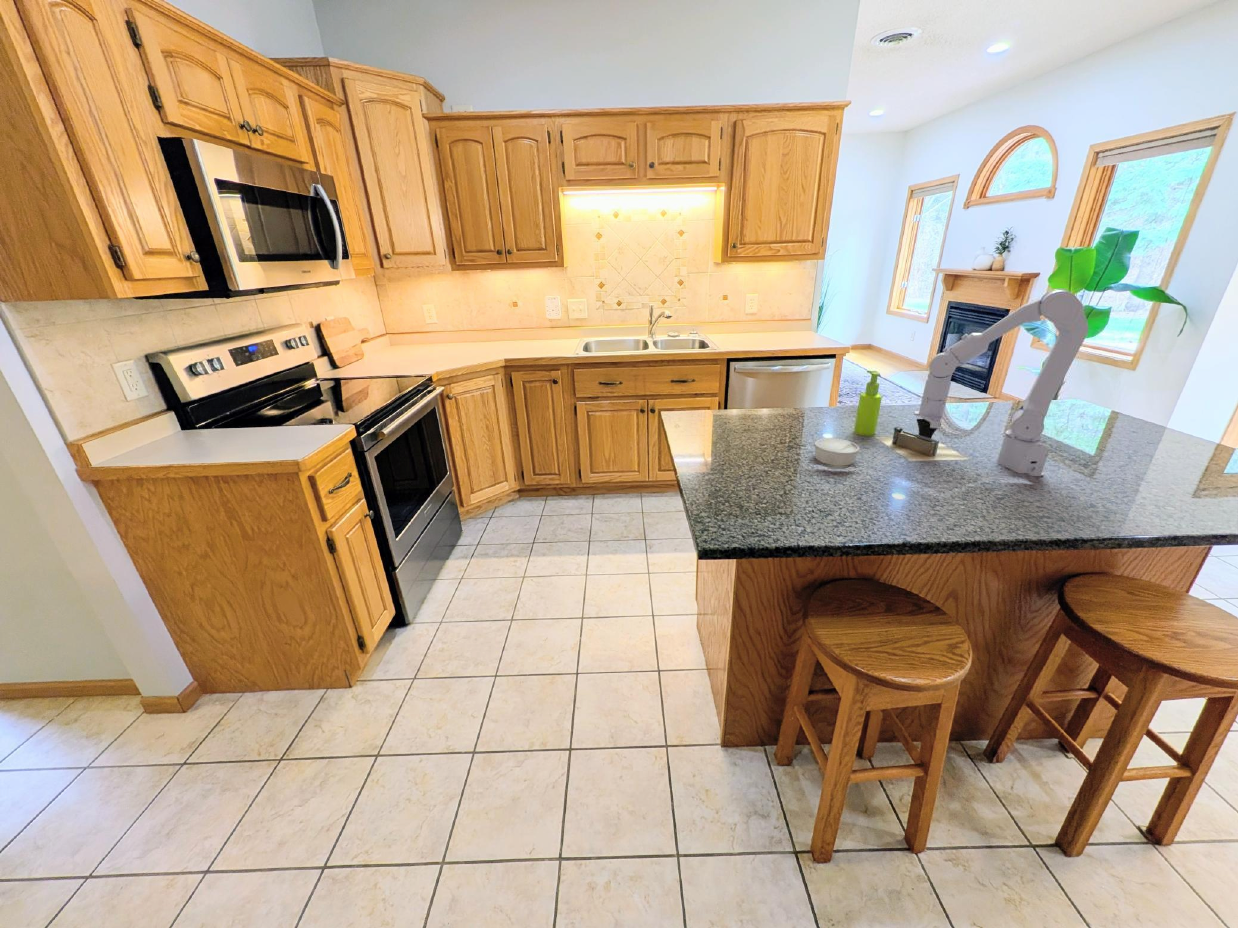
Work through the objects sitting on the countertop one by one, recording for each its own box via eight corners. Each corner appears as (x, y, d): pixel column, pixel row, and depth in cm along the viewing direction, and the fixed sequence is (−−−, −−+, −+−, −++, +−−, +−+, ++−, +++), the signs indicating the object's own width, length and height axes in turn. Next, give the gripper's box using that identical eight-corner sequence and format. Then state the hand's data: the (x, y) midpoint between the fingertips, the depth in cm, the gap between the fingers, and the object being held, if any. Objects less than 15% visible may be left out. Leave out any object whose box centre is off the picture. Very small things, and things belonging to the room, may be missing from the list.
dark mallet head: (888, 443, 145) (892, 428, 143) (894, 441, 146) (897, 426, 144) (929, 456, 135) (933, 440, 133) (935, 455, 136) (939, 439, 134)
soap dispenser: (868, 431, 158) (880, 369, 150) (877, 439, 152) (889, 374, 144) (849, 431, 159) (860, 369, 151) (857, 439, 152) (868, 374, 145)
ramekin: (860, 472, 130) (864, 453, 128) (815, 469, 132) (818, 451, 130) (851, 456, 140) (854, 438, 138) (809, 454, 142) (811, 437, 140)
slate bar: (900, 444, 144) (903, 431, 142) (902, 443, 144) (904, 430, 143) (934, 455, 136) (937, 441, 134) (936, 454, 136) (939, 440, 134)
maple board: (968, 463, 133) (969, 459, 133) (909, 464, 133) (910, 460, 133) (926, 439, 151) (927, 435, 150) (874, 440, 151) (874, 437, 150)
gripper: (913, 390, 142) (903, 434, 148) (923, 404, 130) (911, 452, 135) (941, 392, 140) (930, 437, 146) (954, 406, 128) (941, 455, 133)
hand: (923, 444), depth 140 cm, fingers closed, pressing on slate bar
